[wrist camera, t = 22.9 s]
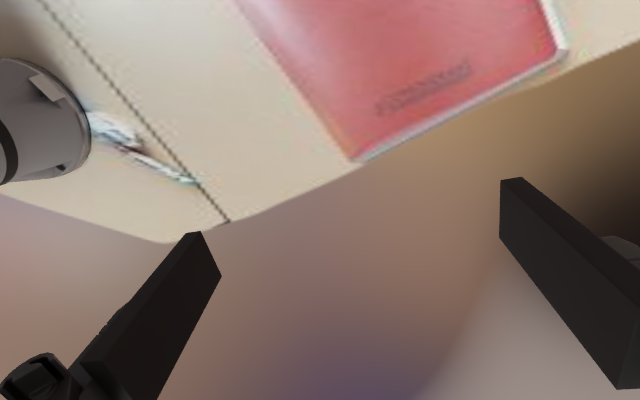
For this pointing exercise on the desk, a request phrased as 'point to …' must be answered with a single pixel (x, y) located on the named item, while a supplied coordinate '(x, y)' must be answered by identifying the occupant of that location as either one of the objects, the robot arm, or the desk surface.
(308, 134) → the desk surface
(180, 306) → the robot arm
